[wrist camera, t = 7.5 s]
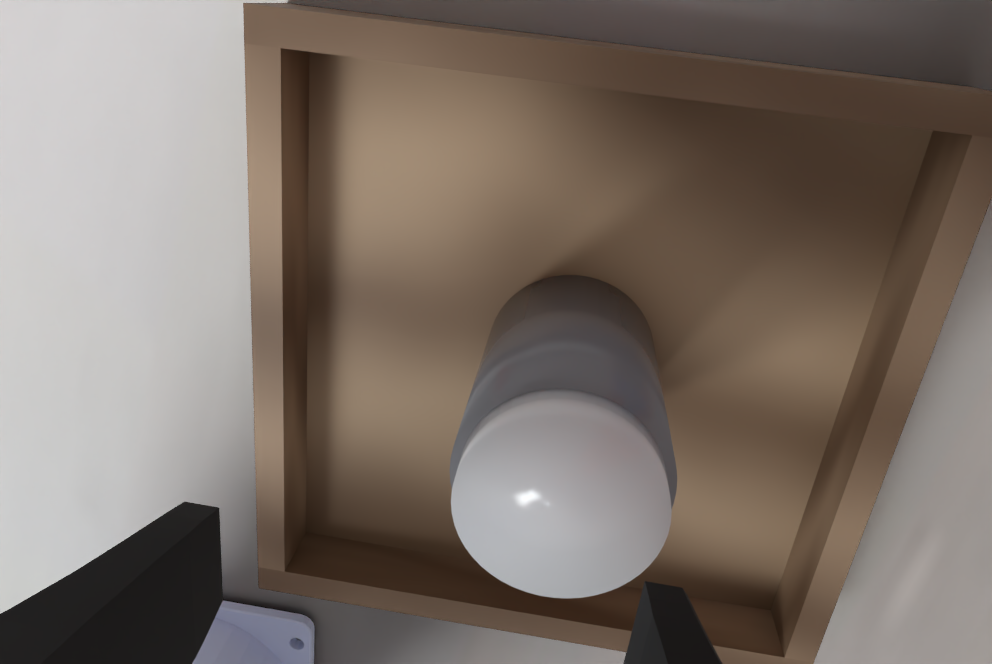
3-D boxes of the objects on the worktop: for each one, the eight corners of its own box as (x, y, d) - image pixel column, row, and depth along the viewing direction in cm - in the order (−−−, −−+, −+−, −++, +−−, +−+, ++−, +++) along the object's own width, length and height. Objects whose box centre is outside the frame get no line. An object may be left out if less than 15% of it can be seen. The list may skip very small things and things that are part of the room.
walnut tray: (786, 620, 24) (805, 683, 21) (288, 536, 25) (258, 588, 22) (973, 87, 17) (1029, 99, 15) (285, 3, 18) (243, 3, 16)
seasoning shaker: (644, 431, 21) (668, 618, 14) (486, 418, 21) (440, 593, 15) (663, 280, 19) (698, 416, 13) (490, 269, 20) (440, 394, 13)
